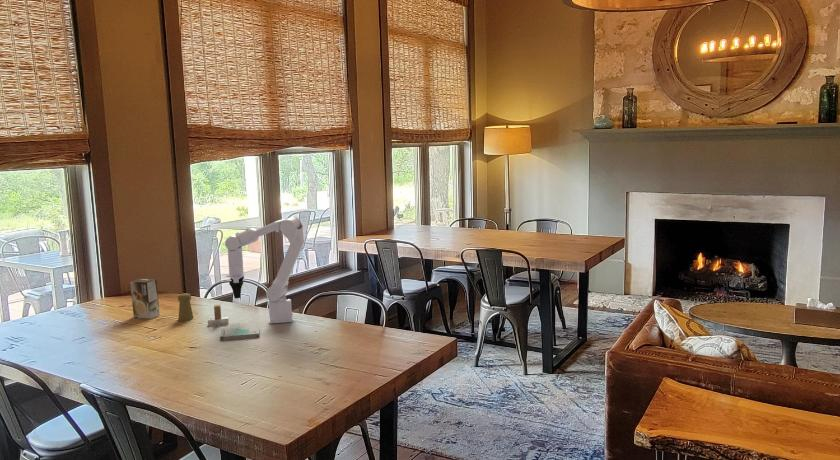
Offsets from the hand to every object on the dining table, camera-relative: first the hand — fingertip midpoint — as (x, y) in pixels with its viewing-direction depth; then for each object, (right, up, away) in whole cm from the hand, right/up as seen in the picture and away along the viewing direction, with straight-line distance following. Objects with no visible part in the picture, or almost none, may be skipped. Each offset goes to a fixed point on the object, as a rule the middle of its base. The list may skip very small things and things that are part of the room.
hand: (237, 295), depth 265 cm
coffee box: (-42, -10, +9) cm, 44 cm away
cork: (-23, -10, +4) cm, 26 cm away
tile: (+6, -14, -18) cm, 23 cm away
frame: (+6, -13, -18) cm, 23 cm away
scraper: (-7, -11, -4) cm, 14 cm away
